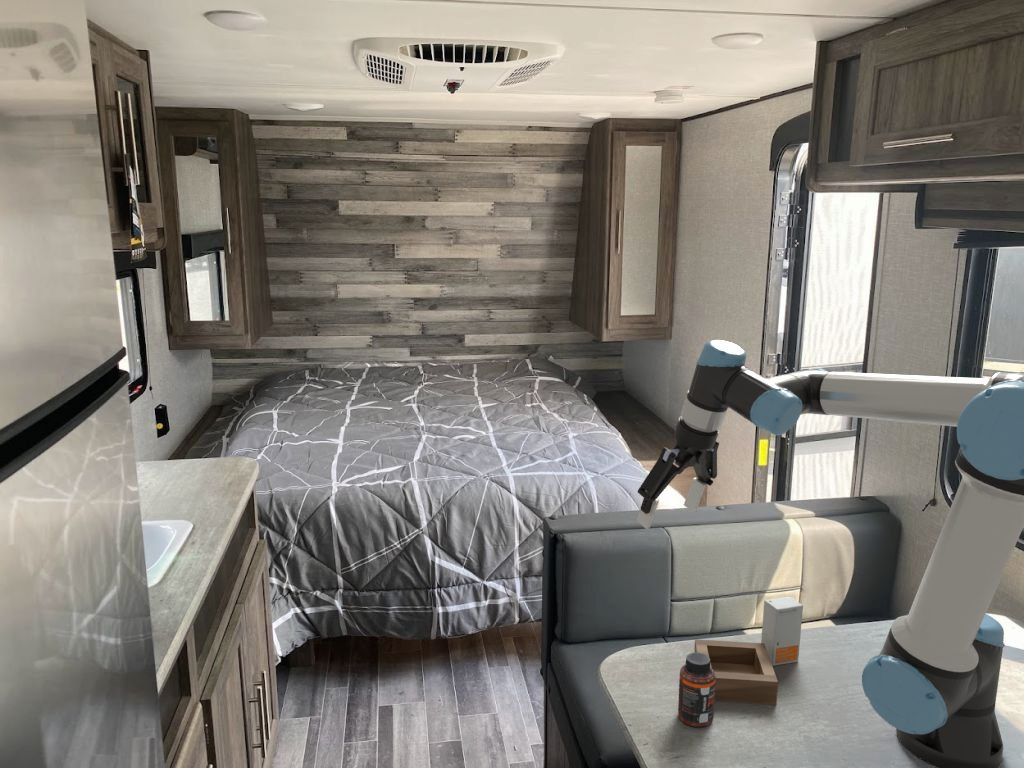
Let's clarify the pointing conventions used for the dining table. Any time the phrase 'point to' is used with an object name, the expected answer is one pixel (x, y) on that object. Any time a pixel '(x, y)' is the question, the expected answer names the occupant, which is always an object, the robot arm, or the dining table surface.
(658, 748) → the dining table surface
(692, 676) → the supplement bottle
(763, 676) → the walnut tray
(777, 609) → the skincare box
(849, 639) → the dining table surface
